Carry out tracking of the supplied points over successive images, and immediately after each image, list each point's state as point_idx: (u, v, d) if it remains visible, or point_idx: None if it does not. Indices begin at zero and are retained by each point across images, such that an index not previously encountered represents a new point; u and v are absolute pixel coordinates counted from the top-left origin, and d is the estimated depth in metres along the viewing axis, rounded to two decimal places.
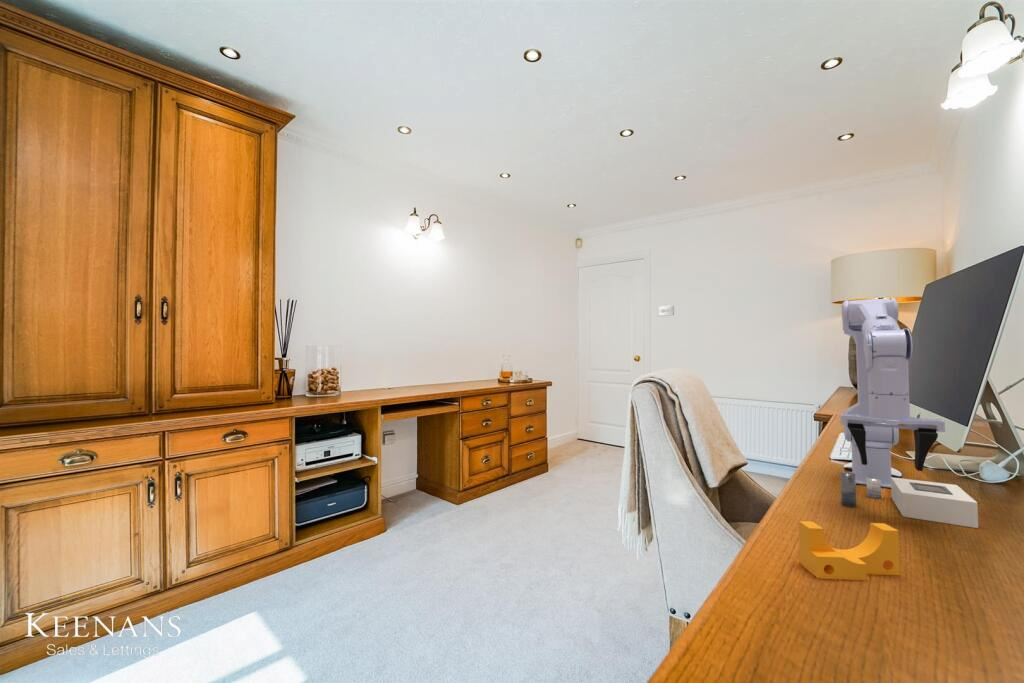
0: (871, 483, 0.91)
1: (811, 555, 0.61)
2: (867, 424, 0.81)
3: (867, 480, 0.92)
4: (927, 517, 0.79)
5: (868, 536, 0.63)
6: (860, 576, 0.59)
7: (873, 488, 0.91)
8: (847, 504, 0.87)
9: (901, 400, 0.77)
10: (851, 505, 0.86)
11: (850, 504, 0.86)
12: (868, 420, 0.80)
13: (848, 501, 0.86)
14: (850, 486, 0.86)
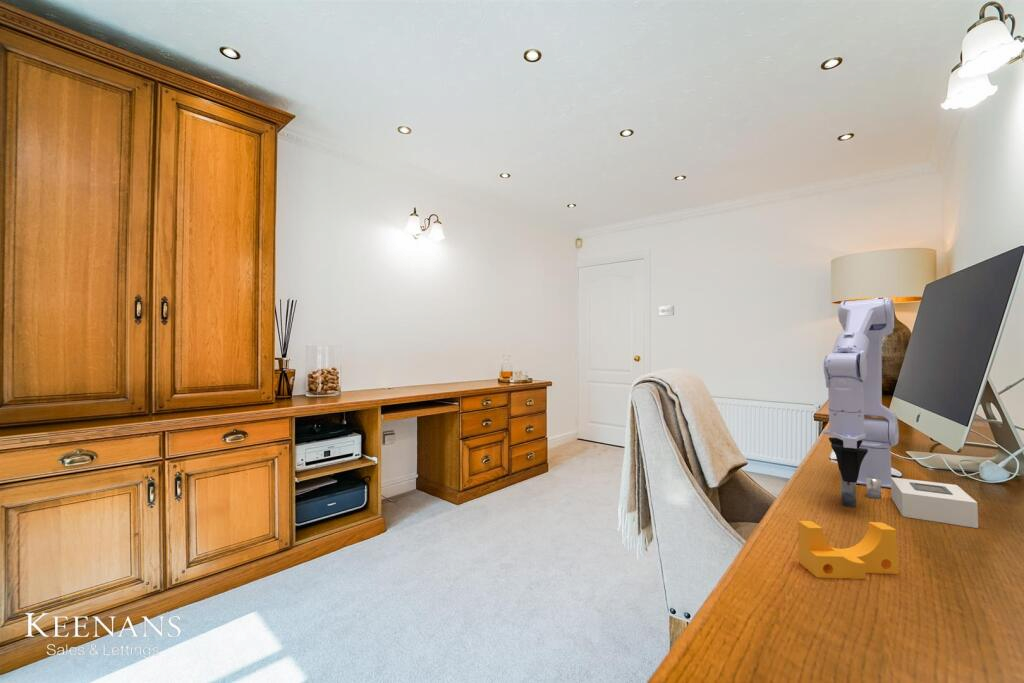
0: (871, 483, 0.91)
1: (810, 554, 0.61)
2: None
3: (867, 480, 0.92)
4: (927, 517, 0.79)
5: (866, 535, 0.63)
6: (859, 575, 0.59)
7: (873, 488, 0.91)
8: (847, 504, 0.87)
9: (831, 415, 0.88)
10: (851, 505, 0.86)
11: (850, 504, 0.86)
12: None
13: (848, 501, 0.86)
14: (850, 486, 0.86)
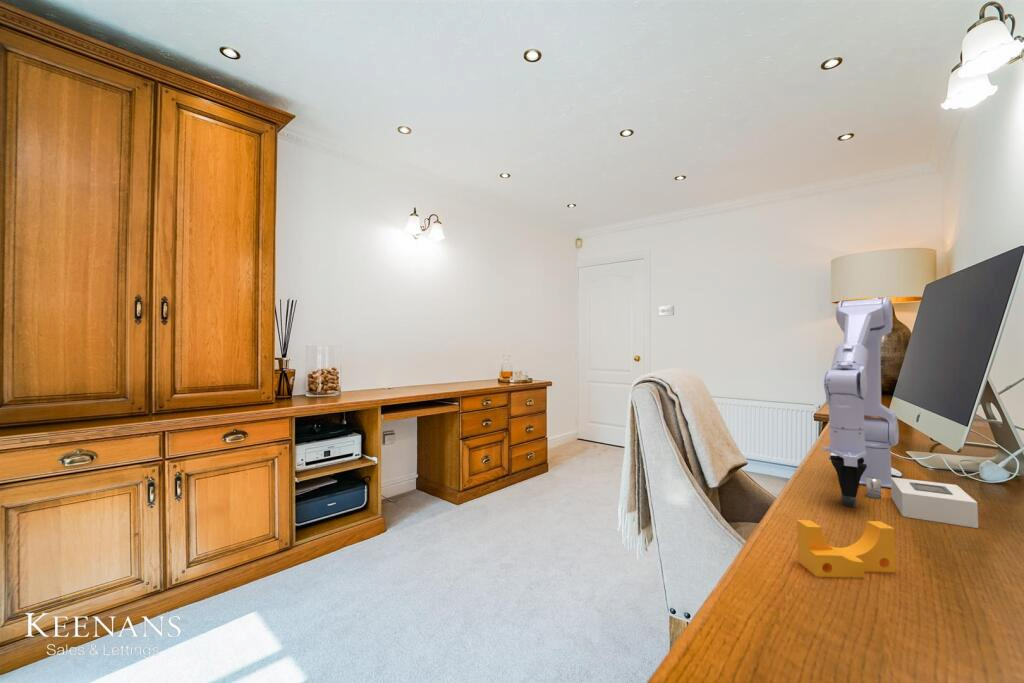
0: (871, 483, 0.91)
1: (810, 554, 0.62)
2: None
3: (867, 480, 0.92)
4: (927, 517, 0.79)
5: (864, 534, 0.64)
6: (858, 574, 0.60)
7: (873, 488, 0.91)
8: (847, 504, 0.87)
9: (832, 432, 0.88)
10: (851, 505, 0.86)
11: (850, 504, 0.86)
12: None
13: (848, 501, 0.86)
14: None
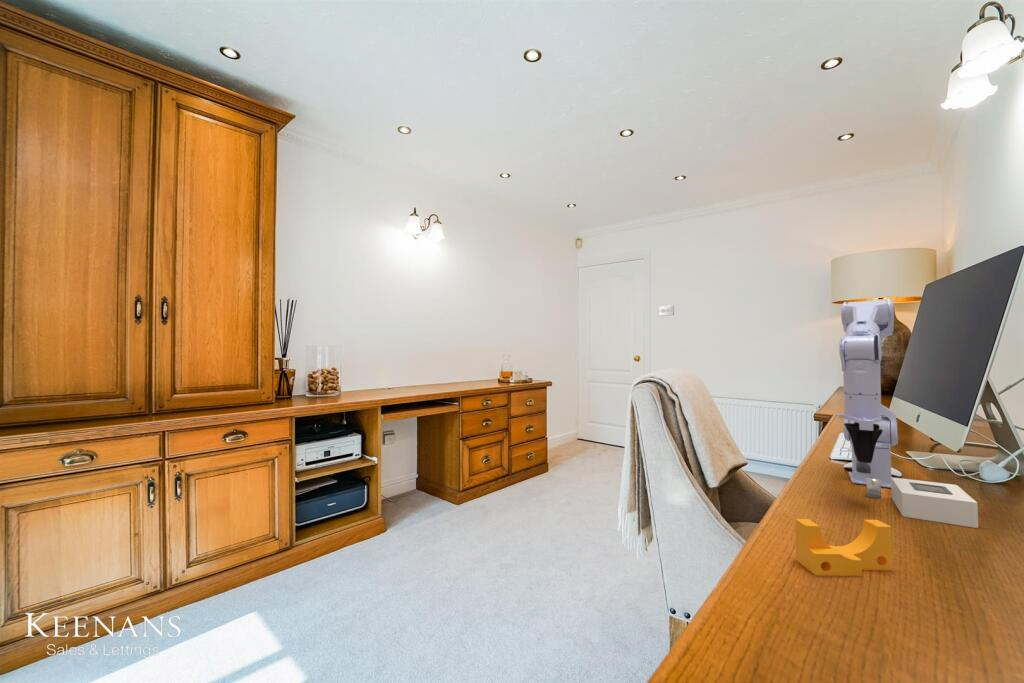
0: (871, 483, 0.91)
1: (808, 552, 0.62)
2: None
3: (867, 480, 0.92)
4: (927, 517, 0.79)
5: (862, 532, 0.64)
6: (856, 572, 0.60)
7: (873, 488, 0.91)
8: (862, 470, 0.86)
9: (847, 398, 0.87)
10: (866, 471, 0.86)
11: (865, 470, 0.86)
12: None
13: (863, 467, 0.86)
14: None
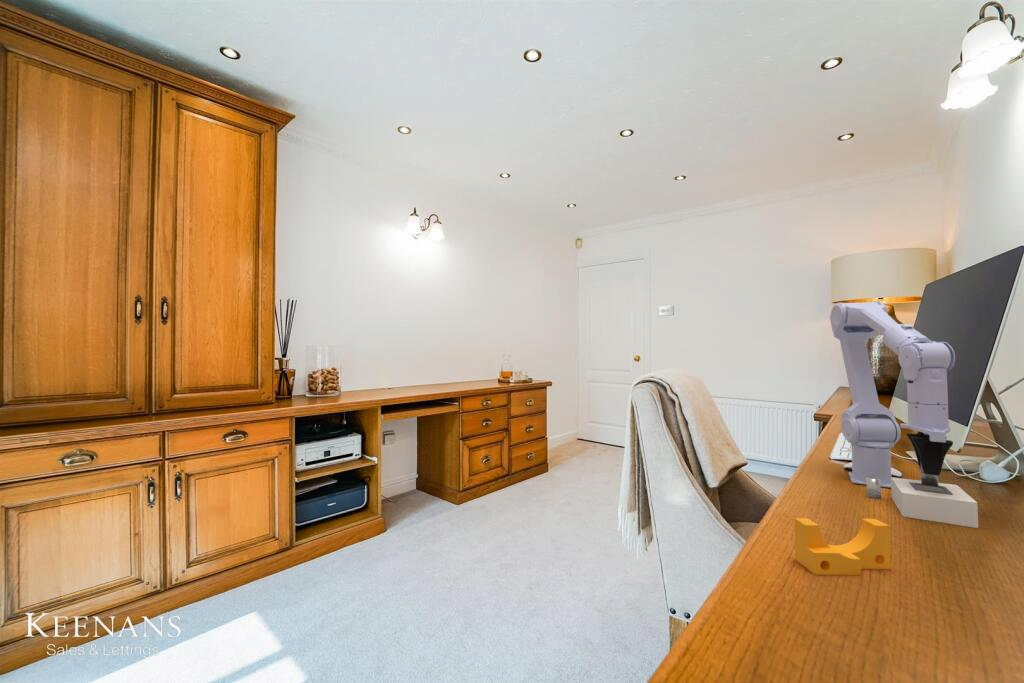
0: (871, 483, 0.91)
1: (807, 551, 0.62)
2: None
3: (867, 480, 0.92)
4: (927, 517, 0.79)
5: (860, 531, 0.65)
6: (854, 571, 0.61)
7: (873, 488, 0.91)
8: (929, 483, 0.83)
9: (912, 408, 0.84)
10: (934, 484, 0.82)
11: (933, 483, 0.82)
12: None
13: (930, 480, 0.83)
14: None
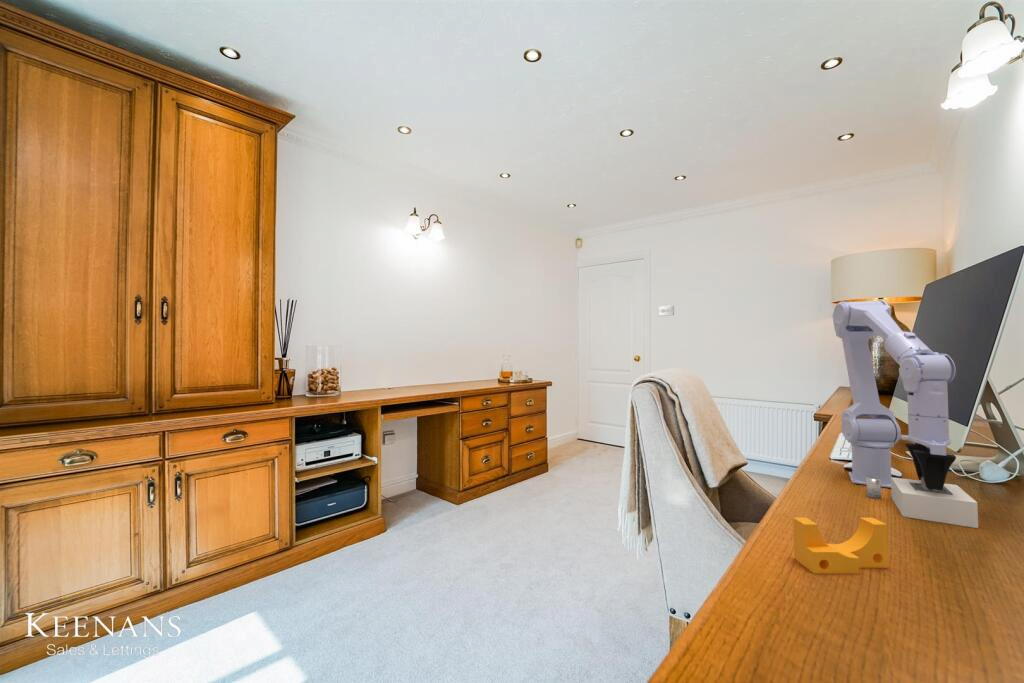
0: (871, 483, 0.91)
1: (807, 551, 0.62)
2: None
3: (867, 480, 0.92)
4: (927, 517, 0.79)
5: (858, 530, 0.65)
6: (853, 570, 0.61)
7: (873, 488, 0.91)
8: None
9: (912, 420, 0.84)
10: None
11: None
12: None
13: None
14: None
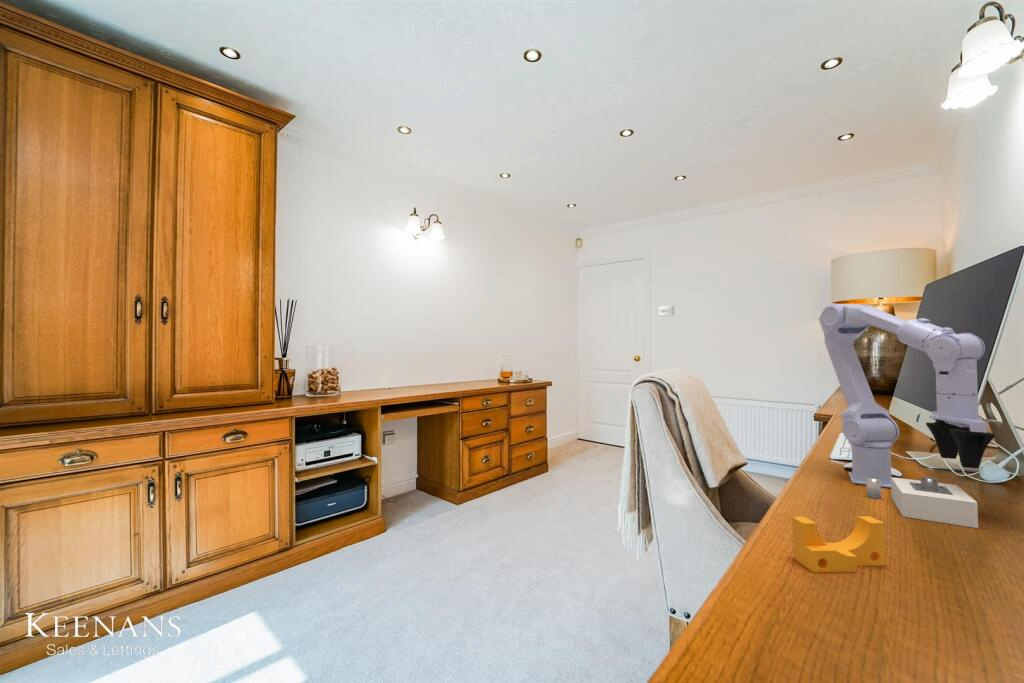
0: (871, 483, 0.91)
1: (805, 549, 0.63)
2: (946, 421, 0.87)
3: (867, 480, 0.92)
4: (927, 517, 0.79)
5: (855, 529, 0.66)
6: (851, 568, 0.61)
7: (873, 488, 0.91)
8: None
9: (944, 399, 0.84)
10: None
11: None
12: None
13: None
14: None
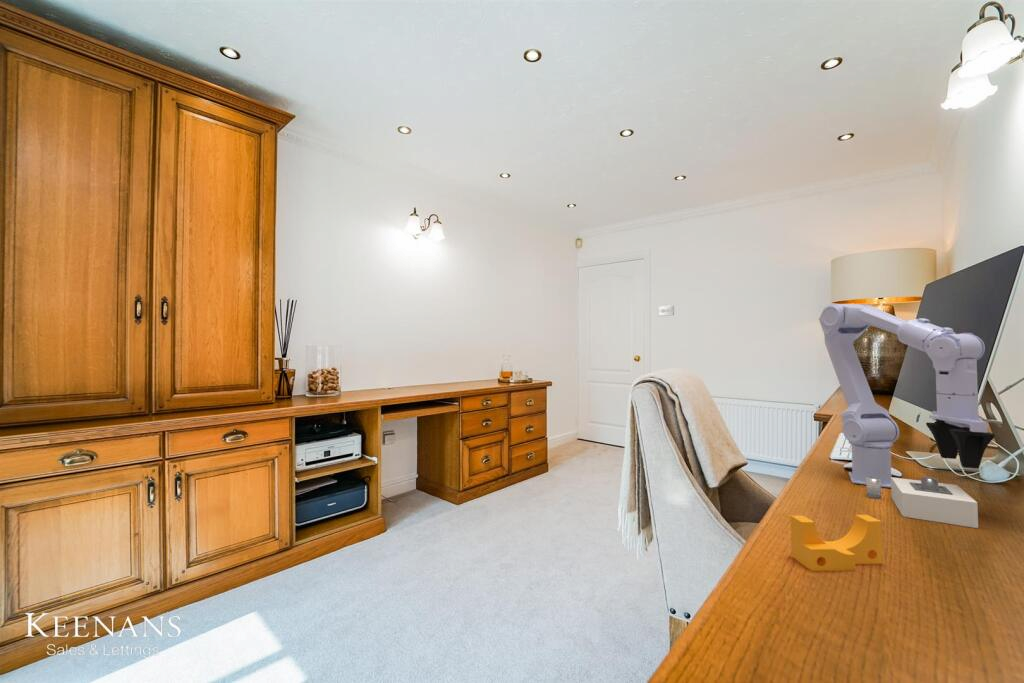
0: (871, 483, 0.91)
1: (804, 548, 0.63)
2: (946, 421, 0.87)
3: (867, 480, 0.92)
4: (927, 517, 0.79)
5: (853, 527, 0.66)
6: (849, 566, 0.62)
7: (873, 488, 0.91)
8: None
9: (944, 399, 0.84)
10: None
11: None
12: None
13: None
14: None
